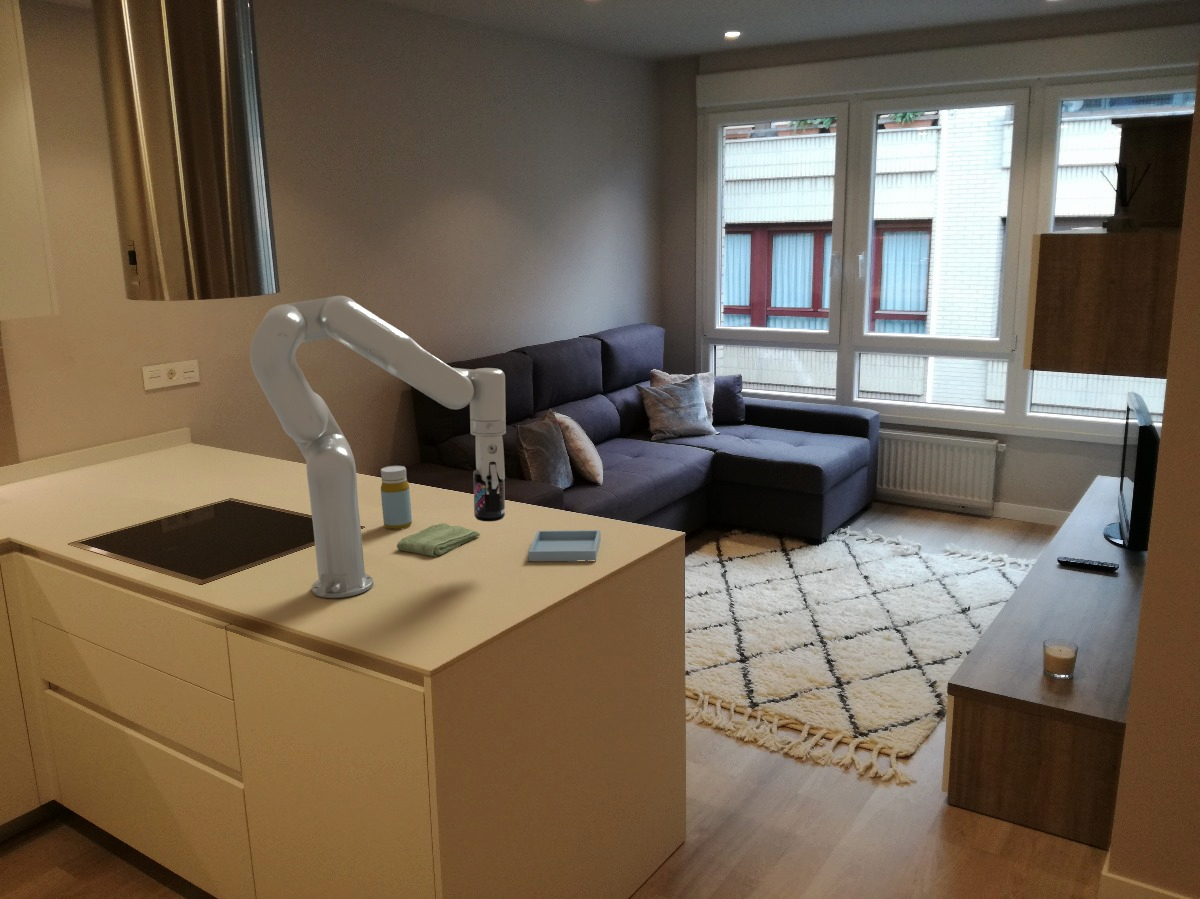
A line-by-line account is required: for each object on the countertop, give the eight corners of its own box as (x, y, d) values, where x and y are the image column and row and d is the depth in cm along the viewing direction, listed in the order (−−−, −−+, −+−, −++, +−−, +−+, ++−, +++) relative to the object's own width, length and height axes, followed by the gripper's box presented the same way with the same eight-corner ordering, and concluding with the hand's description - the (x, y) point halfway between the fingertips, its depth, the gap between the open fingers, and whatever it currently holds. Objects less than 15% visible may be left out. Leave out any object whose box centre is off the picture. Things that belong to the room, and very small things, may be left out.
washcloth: (483, 538, 241) (482, 525, 240) (436, 560, 226) (435, 547, 225) (440, 531, 247) (440, 518, 247) (392, 552, 233) (391, 539, 232)
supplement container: (478, 512, 219) (477, 467, 217) (508, 514, 219) (507, 468, 216) (470, 521, 213) (469, 474, 211) (501, 523, 212) (500, 475, 210)
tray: (595, 561, 220) (595, 551, 220) (529, 561, 222) (528, 551, 221) (600, 539, 235) (600, 530, 234) (538, 540, 236) (537, 530, 236)
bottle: (405, 530, 247) (401, 472, 244) (379, 529, 249) (374, 472, 245) (416, 522, 254) (411, 465, 250) (390, 521, 255) (385, 465, 252)
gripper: (513, 433, 204) (513, 516, 208) (498, 418, 221) (499, 495, 224) (476, 435, 202) (478, 519, 206) (464, 419, 219) (466, 497, 222)
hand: (489, 506), depth 215 cm, fingers closed on supplement container, 6 cm apart
